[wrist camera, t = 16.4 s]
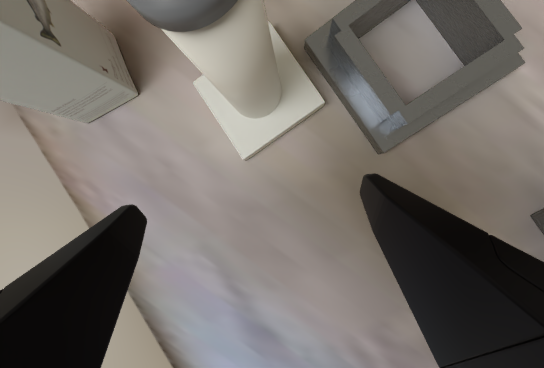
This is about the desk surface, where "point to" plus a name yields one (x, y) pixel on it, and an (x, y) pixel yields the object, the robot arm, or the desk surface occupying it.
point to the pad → (289, 112)
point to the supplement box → (60, 60)
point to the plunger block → (539, 219)
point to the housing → (438, 100)
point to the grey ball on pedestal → (224, 47)
